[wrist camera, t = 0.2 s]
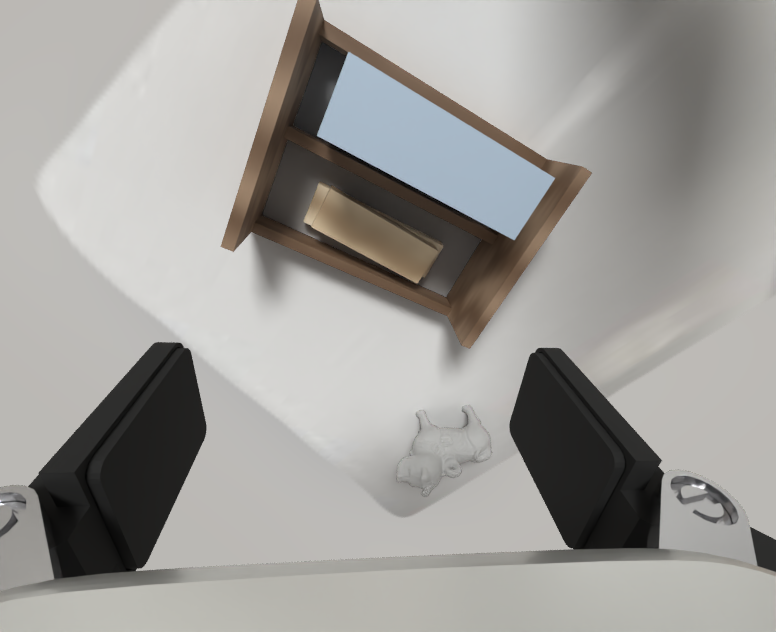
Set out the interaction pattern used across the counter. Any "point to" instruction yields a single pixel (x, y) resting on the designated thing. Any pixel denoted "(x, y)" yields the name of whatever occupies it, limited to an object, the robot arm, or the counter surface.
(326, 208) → the offcut top
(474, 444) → the grey animal figure
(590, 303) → the counter surface
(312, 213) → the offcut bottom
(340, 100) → the blue-grey rectangular block
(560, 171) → the rack
